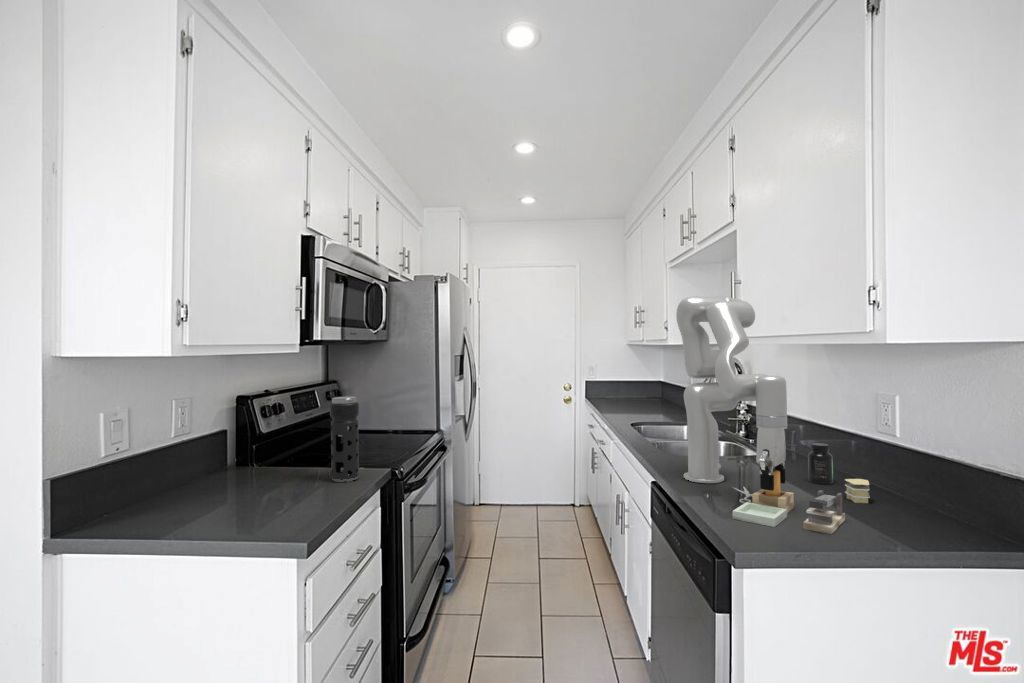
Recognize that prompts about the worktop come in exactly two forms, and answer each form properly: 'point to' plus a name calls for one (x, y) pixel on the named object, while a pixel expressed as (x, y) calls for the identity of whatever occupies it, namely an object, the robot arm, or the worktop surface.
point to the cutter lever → (822, 501)
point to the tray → (760, 514)
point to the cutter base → (825, 527)
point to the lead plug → (775, 484)
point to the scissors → (745, 494)
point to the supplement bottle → (820, 464)
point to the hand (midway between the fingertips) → (773, 486)
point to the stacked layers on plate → (858, 490)
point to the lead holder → (774, 499)
